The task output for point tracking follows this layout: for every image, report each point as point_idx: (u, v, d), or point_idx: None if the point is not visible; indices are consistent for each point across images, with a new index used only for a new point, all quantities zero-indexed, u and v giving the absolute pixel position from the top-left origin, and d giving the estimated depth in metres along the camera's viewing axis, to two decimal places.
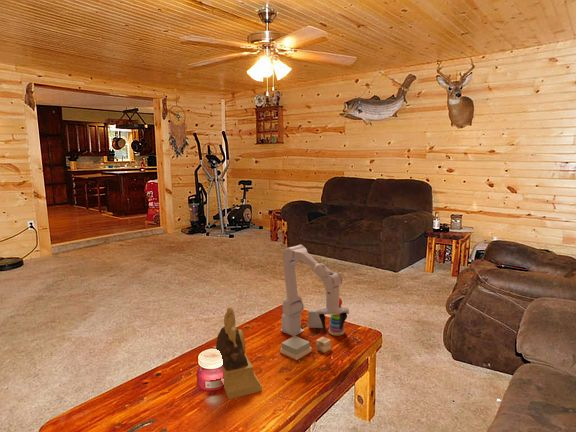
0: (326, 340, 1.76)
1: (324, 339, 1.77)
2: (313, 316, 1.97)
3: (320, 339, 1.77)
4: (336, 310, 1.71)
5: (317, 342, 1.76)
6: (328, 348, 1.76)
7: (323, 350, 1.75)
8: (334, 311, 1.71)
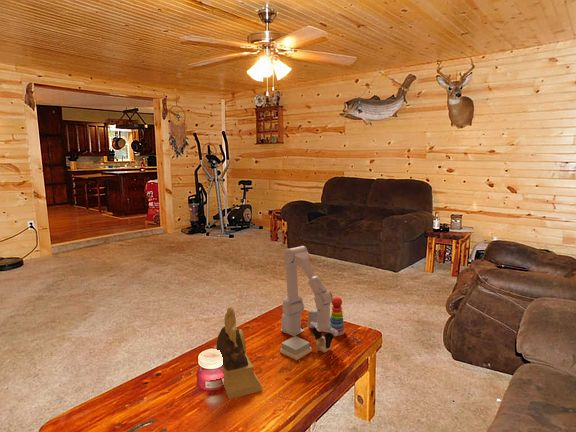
0: None
1: (324, 339, 1.77)
2: (313, 316, 1.97)
3: (320, 339, 1.77)
4: (322, 327, 1.73)
5: (317, 342, 1.76)
6: (328, 348, 1.76)
7: (323, 350, 1.75)
8: (320, 328, 1.74)
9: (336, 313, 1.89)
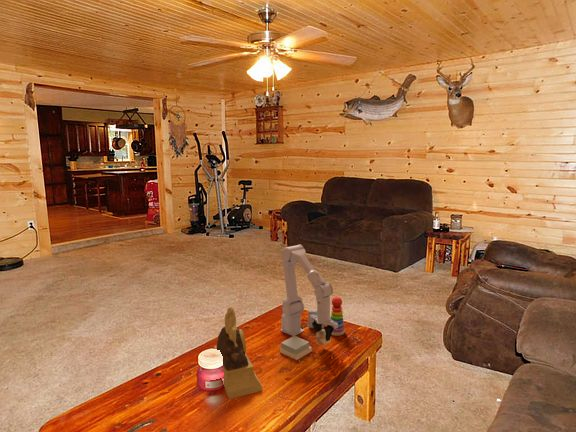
0: None
1: (324, 331, 1.77)
2: None
3: (320, 331, 1.77)
4: (322, 320, 1.72)
5: (317, 334, 1.76)
6: (328, 341, 1.76)
7: (323, 342, 1.74)
8: (320, 320, 1.73)
9: (336, 313, 1.89)
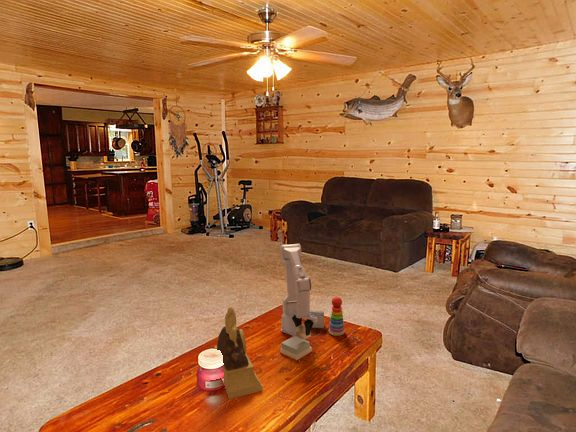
0: None
1: (304, 326, 1.75)
2: None
3: (300, 326, 1.75)
4: (301, 314, 1.71)
5: (297, 329, 1.74)
6: (308, 335, 1.74)
7: (303, 337, 1.72)
8: (299, 314, 1.71)
9: (336, 313, 1.89)
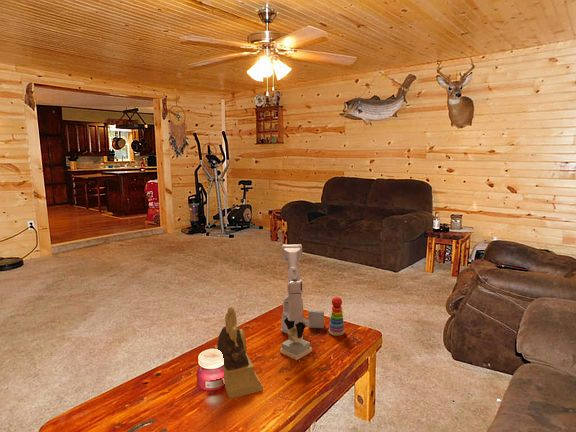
0: None
1: (296, 329, 1.74)
2: (313, 316, 1.97)
3: (292, 329, 1.74)
4: (293, 317, 1.70)
5: (289, 332, 1.74)
6: (300, 338, 1.73)
7: (295, 340, 1.72)
8: (291, 317, 1.71)
9: (336, 313, 1.89)
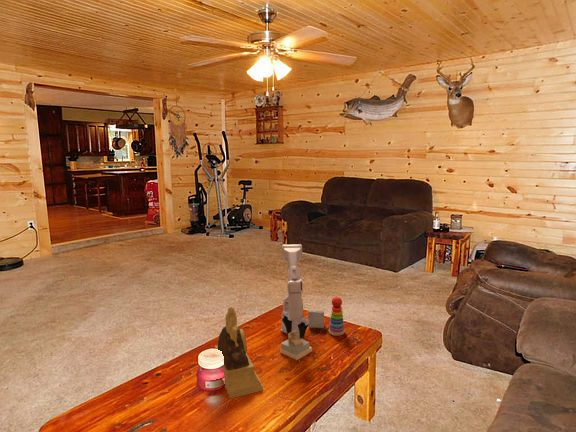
0: (298, 333, 1.74)
1: (296, 332, 1.75)
2: (313, 316, 1.97)
3: (292, 332, 1.75)
4: (293, 316, 1.70)
5: (289, 335, 1.74)
6: (300, 342, 1.74)
7: (295, 343, 1.72)
8: (291, 317, 1.71)
9: (336, 313, 1.89)
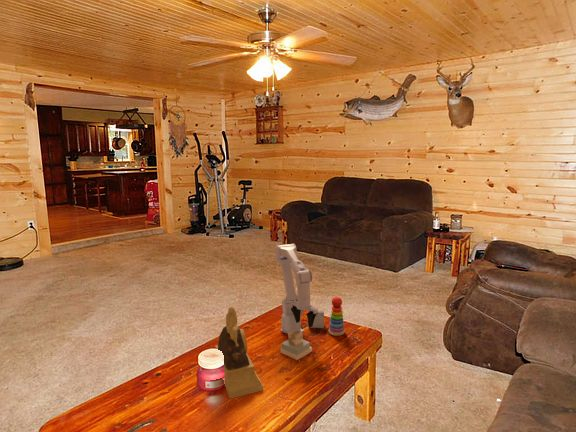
0: (298, 333, 1.74)
1: (296, 332, 1.75)
2: None
3: (292, 332, 1.75)
4: (302, 306, 1.75)
5: (289, 335, 1.74)
6: (300, 341, 1.74)
7: (295, 343, 1.72)
8: (300, 306, 1.76)
9: (336, 313, 1.89)
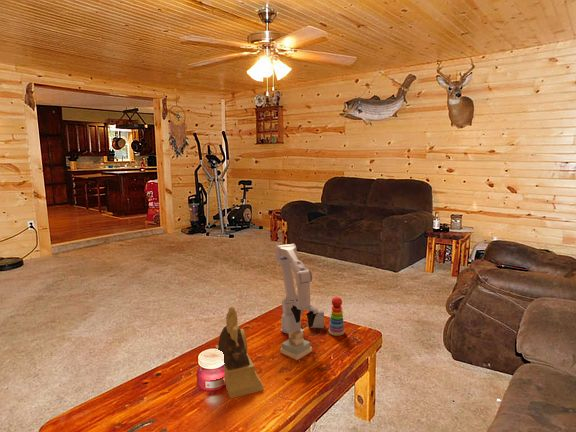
0: (298, 333, 1.74)
1: (296, 332, 1.75)
2: None
3: (292, 332, 1.75)
4: (302, 306, 1.75)
5: (289, 335, 1.74)
6: (300, 341, 1.74)
7: (295, 343, 1.72)
8: (300, 306, 1.76)
9: (336, 313, 1.89)
